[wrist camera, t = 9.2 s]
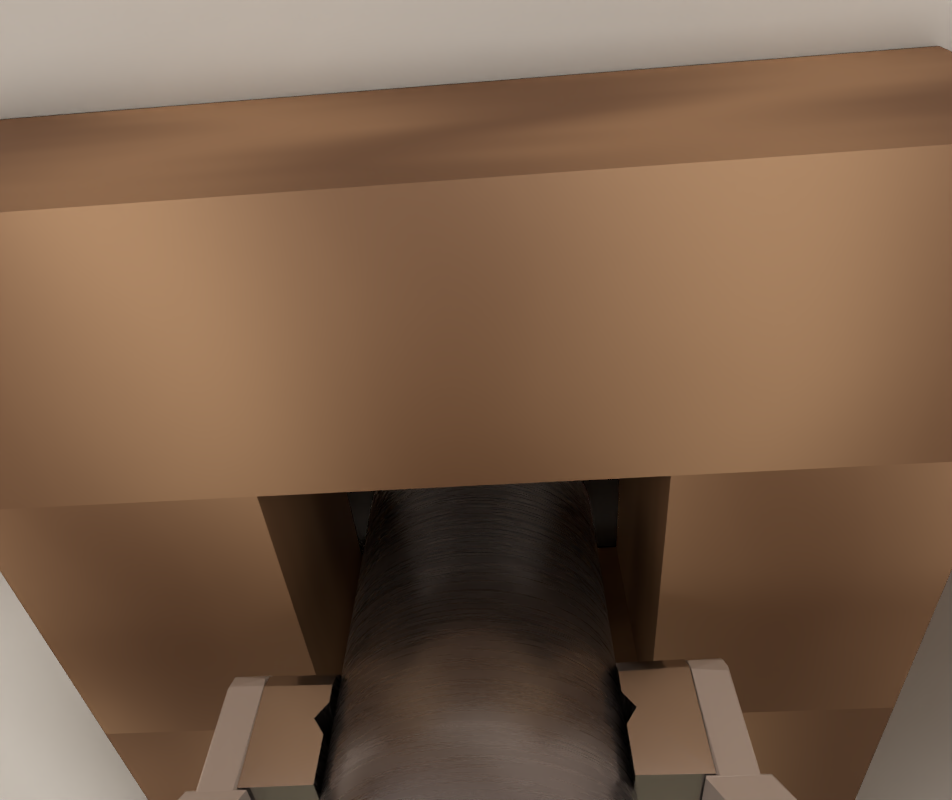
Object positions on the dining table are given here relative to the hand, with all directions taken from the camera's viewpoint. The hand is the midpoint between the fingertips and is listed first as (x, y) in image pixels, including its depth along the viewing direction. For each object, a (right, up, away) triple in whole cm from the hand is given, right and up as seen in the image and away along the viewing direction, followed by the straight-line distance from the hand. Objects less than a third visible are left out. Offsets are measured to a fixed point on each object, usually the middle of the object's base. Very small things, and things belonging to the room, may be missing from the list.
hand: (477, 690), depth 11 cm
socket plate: (0, +3, +4) cm, 5 cm away
